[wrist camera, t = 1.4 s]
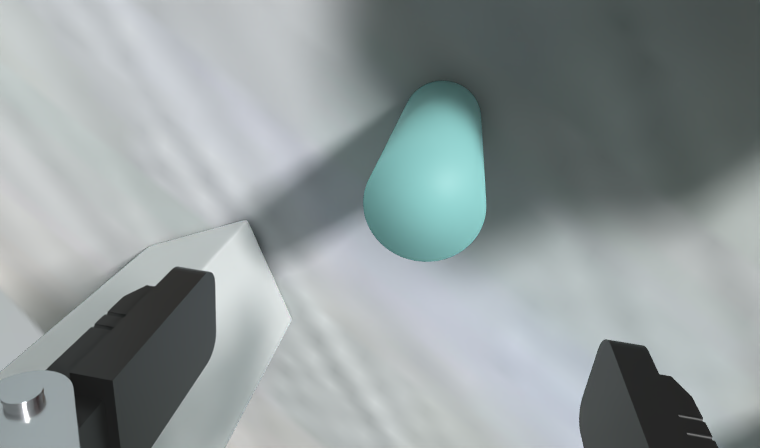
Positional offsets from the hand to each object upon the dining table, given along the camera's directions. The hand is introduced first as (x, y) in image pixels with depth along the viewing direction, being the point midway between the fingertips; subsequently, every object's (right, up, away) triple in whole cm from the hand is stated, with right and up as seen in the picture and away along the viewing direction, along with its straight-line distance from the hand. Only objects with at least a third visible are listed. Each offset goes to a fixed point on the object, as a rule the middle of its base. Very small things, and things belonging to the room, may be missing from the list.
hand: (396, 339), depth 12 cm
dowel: (+3, +8, +18) cm, 19 cm away
